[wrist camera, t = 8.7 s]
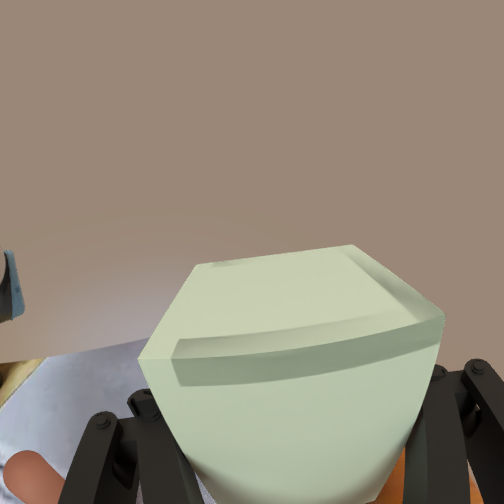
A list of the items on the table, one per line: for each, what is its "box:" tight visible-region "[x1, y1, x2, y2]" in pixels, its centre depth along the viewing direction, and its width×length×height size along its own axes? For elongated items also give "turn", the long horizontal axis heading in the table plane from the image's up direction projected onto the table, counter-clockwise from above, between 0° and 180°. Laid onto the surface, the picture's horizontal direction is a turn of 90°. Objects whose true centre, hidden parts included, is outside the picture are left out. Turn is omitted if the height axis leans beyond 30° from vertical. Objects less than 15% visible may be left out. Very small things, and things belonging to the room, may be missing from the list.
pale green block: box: [138, 245, 446, 504], centre depth 10 cm, size 7×7×11 cm
